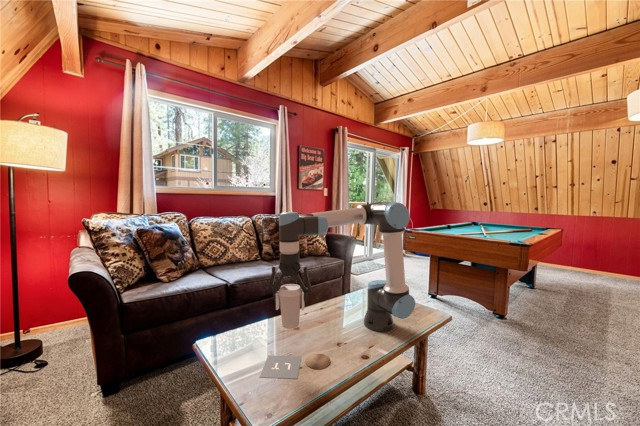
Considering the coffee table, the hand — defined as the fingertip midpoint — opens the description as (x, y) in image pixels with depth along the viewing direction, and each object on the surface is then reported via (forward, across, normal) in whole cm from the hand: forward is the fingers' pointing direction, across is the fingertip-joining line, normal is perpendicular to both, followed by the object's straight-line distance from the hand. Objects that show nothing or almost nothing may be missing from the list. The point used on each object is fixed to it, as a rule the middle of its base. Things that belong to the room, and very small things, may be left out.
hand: (290, 308), depth 107 cm
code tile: (+23, +4, +1) cm, 23 cm away
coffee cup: (+7, 0, 0) cm, 7 cm away
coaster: (+23, -10, -3) cm, 25 cm away
